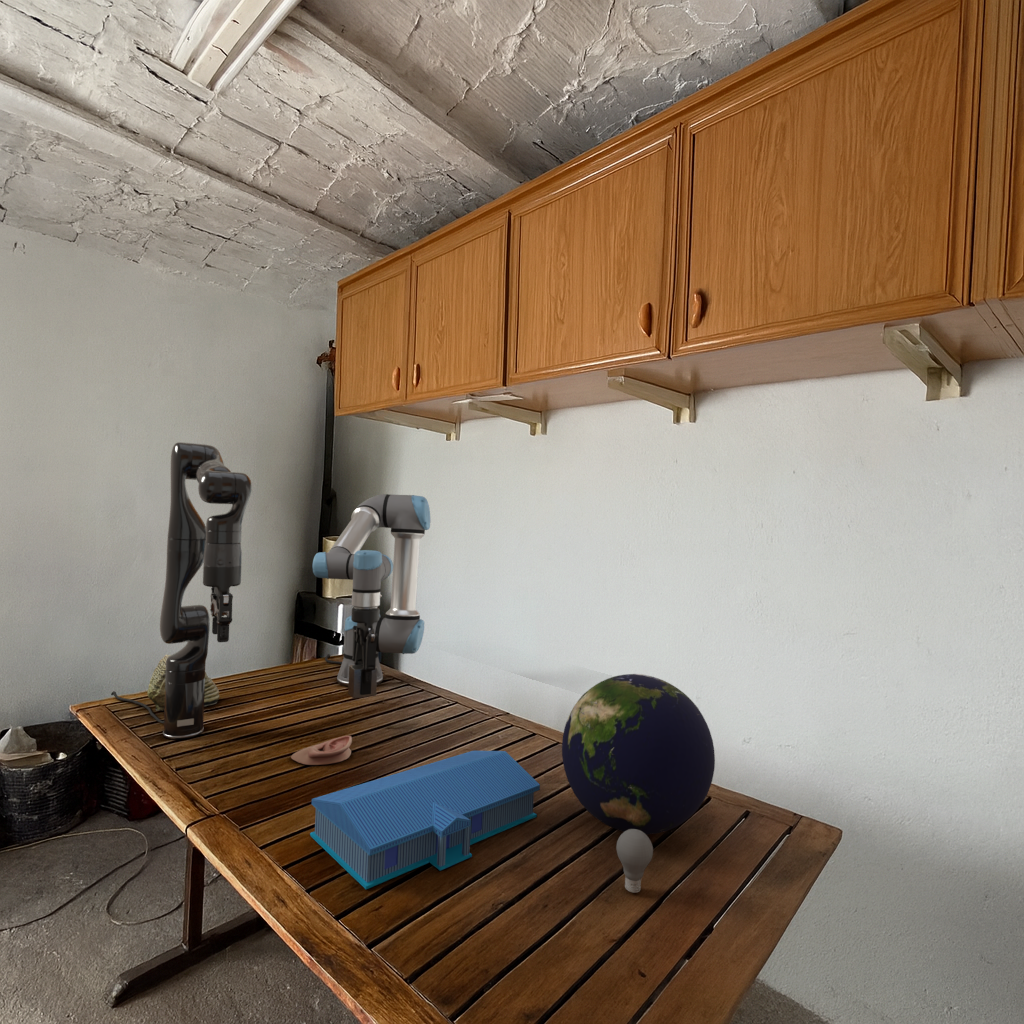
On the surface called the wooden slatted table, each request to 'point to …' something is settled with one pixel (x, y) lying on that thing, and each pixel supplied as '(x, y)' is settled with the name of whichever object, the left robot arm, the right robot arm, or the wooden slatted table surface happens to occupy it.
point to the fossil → (158, 687)
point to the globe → (638, 754)
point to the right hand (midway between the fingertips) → (362, 691)
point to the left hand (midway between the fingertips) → (220, 637)
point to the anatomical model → (325, 752)
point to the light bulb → (634, 857)
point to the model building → (423, 815)
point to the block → (355, 682)
